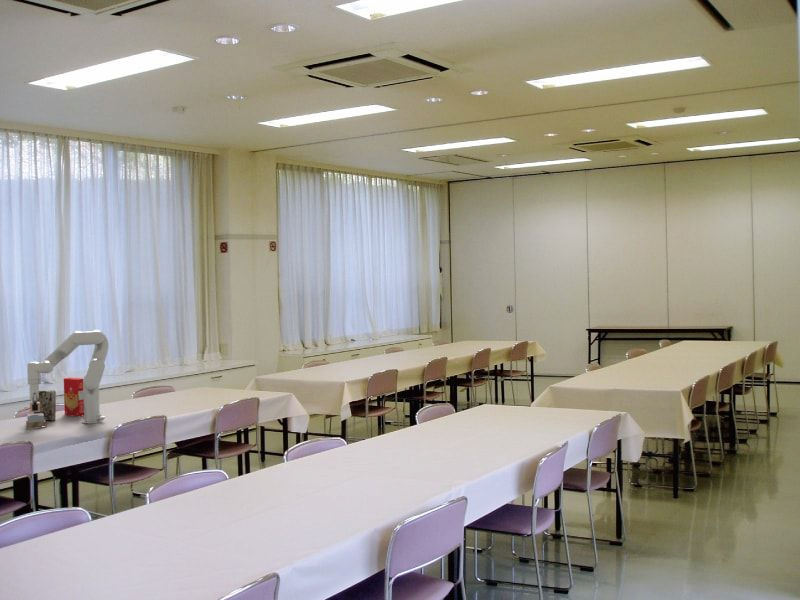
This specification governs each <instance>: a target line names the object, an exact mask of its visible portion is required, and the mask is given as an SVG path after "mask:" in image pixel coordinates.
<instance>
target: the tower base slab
mask: <svg viewBox="0 0 800 600" xmlns="http://www.w3.org/2000/svg"><path fill="white" fill-rule="evenodd" d="M25 426H27V427H26V429H27V428H32V429H36V428H35V427H42V426H46V427H47V422H46V420H45V419H44V422H34V423H28V419H27V420H25Z"/></svg>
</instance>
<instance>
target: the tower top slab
mask: <svg viewBox="0 0 800 600" xmlns="http://www.w3.org/2000/svg"><path fill="white" fill-rule="evenodd" d="M26 418H27V420H28V423H34V422H44V415H43V413H38V414H34V413H29V414H27V416H26Z"/></svg>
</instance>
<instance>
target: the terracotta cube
mask: <svg viewBox="0 0 800 600" xmlns="http://www.w3.org/2000/svg"><path fill="white" fill-rule="evenodd" d="M33 403H34V402H32V401H30V402H29V411H30V412H29V413H34V412H40V402H37V404H38V411H32V405H33Z"/></svg>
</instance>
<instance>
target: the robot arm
mask: <svg viewBox="0 0 800 600" xmlns="http://www.w3.org/2000/svg"><path fill="white" fill-rule="evenodd" d="M88 345H94V348H93V352H92V354H91V357H90V360H89V363H88V368H87V371H86V372H87V373H86V374H85V375H84V377H83V378H82V379H83V392H84V416H83V417H84V419H82V420H81V423H82V424H86V423H89V424H96V423H97V424H98V423H102V422H103V421H104V420H105V416H102V414H101V413H100V409H101V408H100V385H101V380H102V378H103V375H104V372H105V368H106V364H105V363H106V359H107V355H108V352H109V347H110V346H109V345H110V344H109V340H108V338H107V335H106V334H104V332H103V331H102V330H99V329H95V330H92V331H79V330H76V331H73V332H72V333H71V334H70V335H69V336H68V337H67V338H66V339H64V341H62V343H61V344H59V346H58V347H56V349H54V350H53V352H51V353H50V354H49V355H48V356H47V357H46V358H45V359H44V360H42V362H39V361H29V362H28V363H27V365H26V367H27V372H26V373H27V385H29V400H30V401H31V402H34V403H33V405H32V411H38V404H37V400H38V397H39V390H40V389H39V388H40V387H39V386H40V384H41V383H42V382H41V381H42V379H41V374H50V373H52V371H53V370H54V368H55V367H56V366H57V365H58V364H59V363H60V362H62V361H63V360H64V359H66V358H68V357H69V356H70V355H71V354H72V353H73V352H74V351H75V350H76V349H77V348H78V347H80V346H88Z"/></svg>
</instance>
